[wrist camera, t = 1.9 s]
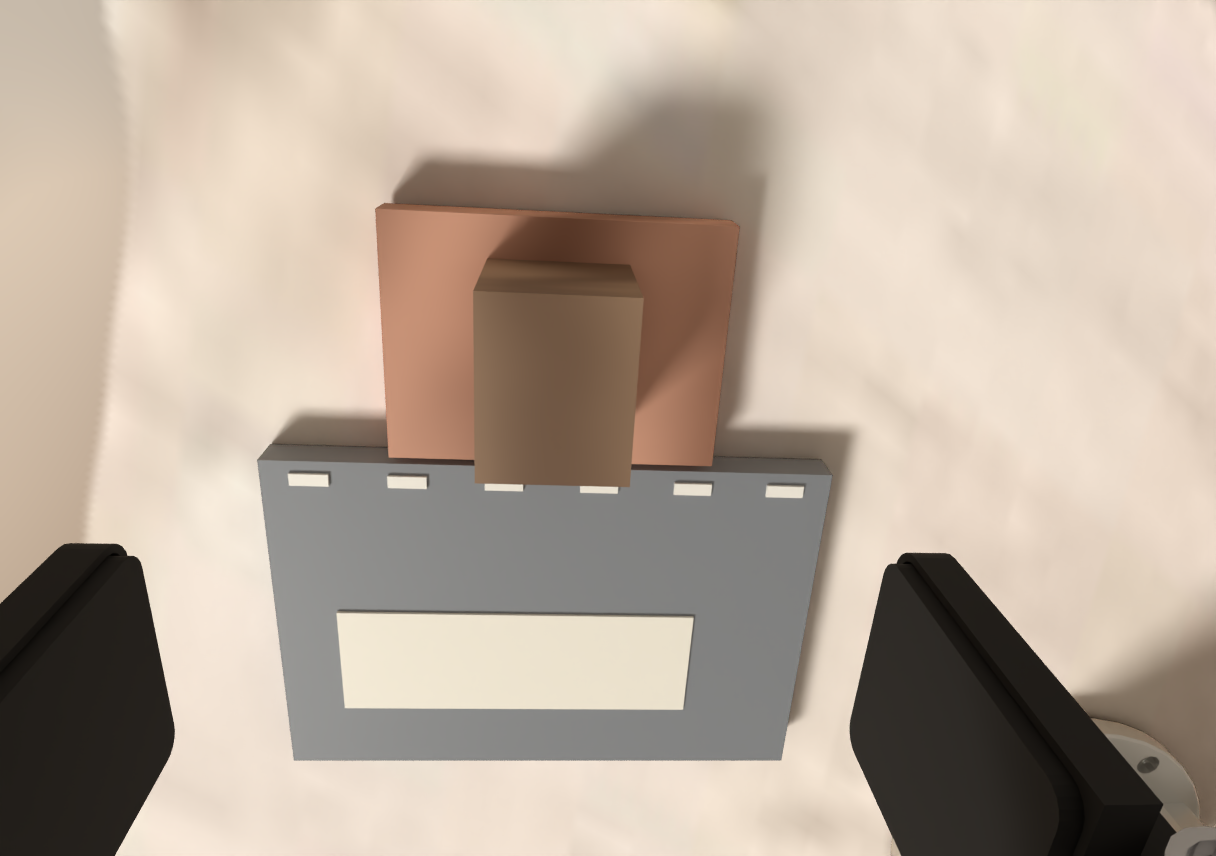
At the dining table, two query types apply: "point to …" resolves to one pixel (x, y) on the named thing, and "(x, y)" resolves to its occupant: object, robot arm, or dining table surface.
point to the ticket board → (538, 607)
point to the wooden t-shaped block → (553, 339)
